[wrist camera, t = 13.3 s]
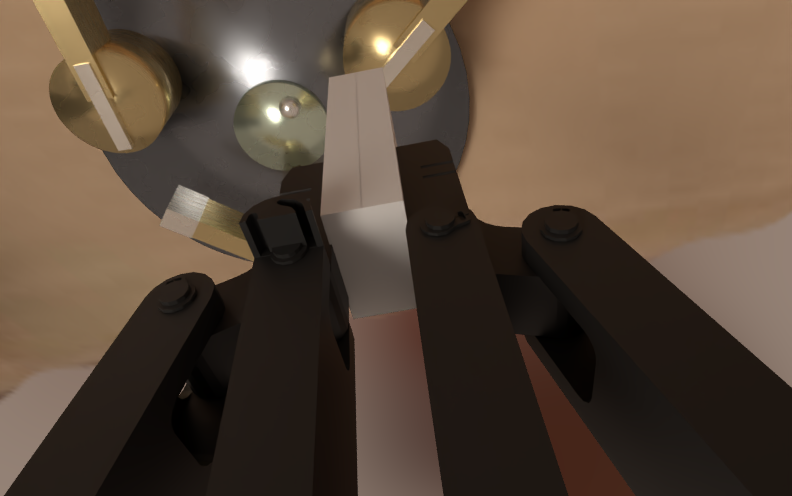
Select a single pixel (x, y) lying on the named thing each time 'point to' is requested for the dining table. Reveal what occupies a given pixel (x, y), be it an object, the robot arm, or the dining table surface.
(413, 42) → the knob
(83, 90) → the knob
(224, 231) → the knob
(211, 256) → the dining table surface
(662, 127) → the dining table surface
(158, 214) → the plate
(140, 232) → the dining table surface
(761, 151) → the dining table surface
